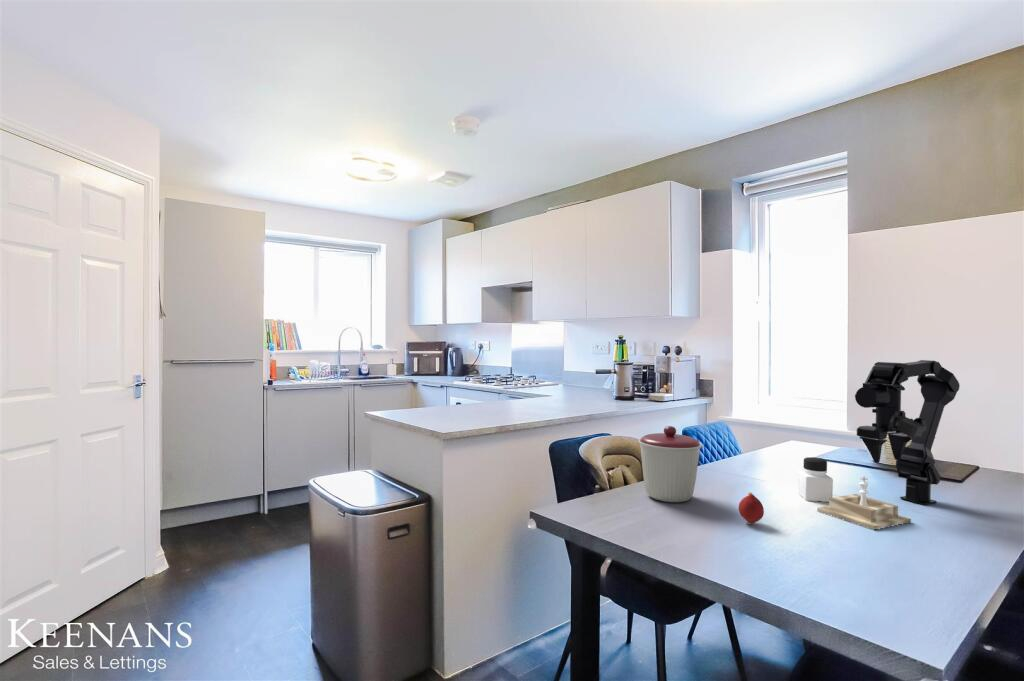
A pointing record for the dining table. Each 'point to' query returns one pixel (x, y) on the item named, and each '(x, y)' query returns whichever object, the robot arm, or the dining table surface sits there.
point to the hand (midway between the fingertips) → (887, 461)
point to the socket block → (864, 511)
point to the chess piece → (863, 491)
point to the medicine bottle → (815, 480)
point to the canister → (669, 465)
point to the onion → (751, 508)
